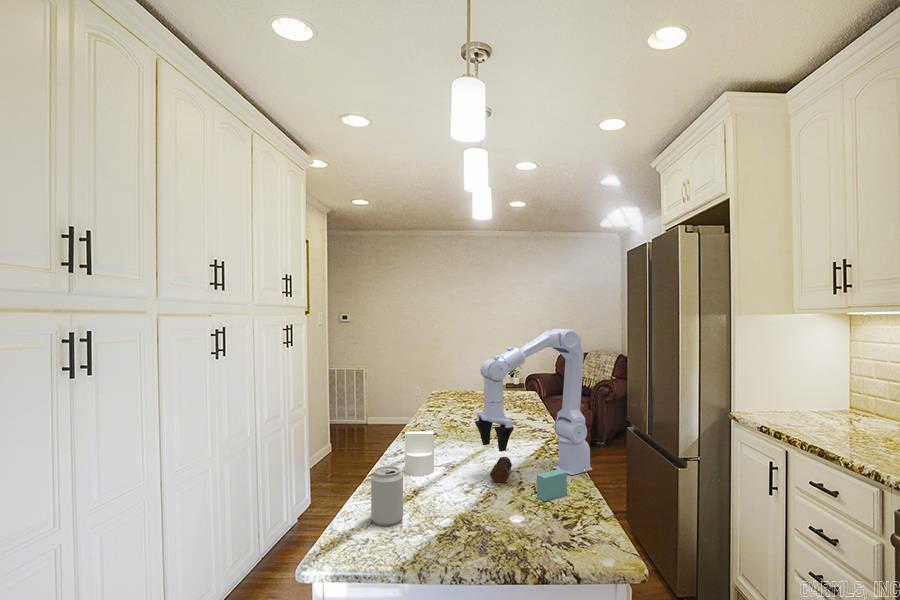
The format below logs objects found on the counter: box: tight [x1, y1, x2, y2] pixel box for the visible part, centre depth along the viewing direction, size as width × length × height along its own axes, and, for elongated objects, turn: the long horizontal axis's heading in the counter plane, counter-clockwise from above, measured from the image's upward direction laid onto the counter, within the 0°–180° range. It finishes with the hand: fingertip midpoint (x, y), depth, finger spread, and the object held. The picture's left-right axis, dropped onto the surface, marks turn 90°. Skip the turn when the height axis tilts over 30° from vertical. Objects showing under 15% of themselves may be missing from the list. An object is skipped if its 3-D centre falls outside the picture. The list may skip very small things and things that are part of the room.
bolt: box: [489, 456, 513, 485], centre depth 141 cm, size 6×5×15 cm
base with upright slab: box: [404, 430, 435, 477], centre depth 145 cm, size 9×9×12 cm
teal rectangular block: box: [535, 469, 568, 502], centre depth 126 cm, size 8×6×6 cm
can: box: [370, 465, 404, 527], centre depth 111 cm, size 8×8×12 cm
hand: (494, 447), depth 137 cm, fingers open, 7 cm apart
